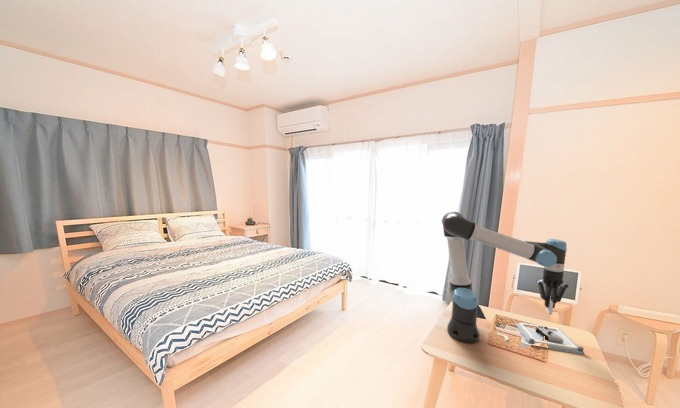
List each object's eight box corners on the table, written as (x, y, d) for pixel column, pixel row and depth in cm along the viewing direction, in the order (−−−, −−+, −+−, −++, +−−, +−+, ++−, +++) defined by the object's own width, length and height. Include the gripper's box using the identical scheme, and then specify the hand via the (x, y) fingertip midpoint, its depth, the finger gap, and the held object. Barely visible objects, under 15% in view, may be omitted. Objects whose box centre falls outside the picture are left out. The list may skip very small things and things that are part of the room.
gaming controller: (566, 342, 116) (556, 332, 116) (555, 350, 117) (546, 340, 117) (547, 328, 128) (539, 319, 128) (538, 335, 128) (529, 326, 128)
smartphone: (473, 316, 142) (467, 303, 156) (473, 317, 142) (467, 305, 156) (486, 318, 139) (479, 305, 154) (485, 319, 140) (479, 306, 154)
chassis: (530, 345, 117) (530, 340, 117) (513, 324, 135) (514, 319, 134) (584, 354, 112) (584, 349, 111) (559, 331, 129) (560, 326, 129)
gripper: (542, 270, 117) (538, 315, 120) (574, 273, 114) (568, 319, 116) (534, 265, 125) (530, 307, 127) (564, 268, 121) (559, 311, 124)
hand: (548, 313), depth 122 cm, fingers closed
